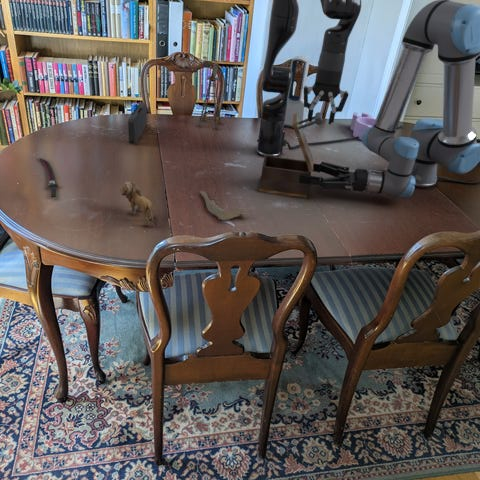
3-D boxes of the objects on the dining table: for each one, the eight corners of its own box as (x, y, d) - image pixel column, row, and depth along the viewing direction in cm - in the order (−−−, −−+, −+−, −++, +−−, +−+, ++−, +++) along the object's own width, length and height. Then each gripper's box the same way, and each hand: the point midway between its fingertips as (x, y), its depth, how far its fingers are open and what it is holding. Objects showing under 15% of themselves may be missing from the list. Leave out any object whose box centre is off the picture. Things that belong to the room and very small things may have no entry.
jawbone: (230, 228, 136) (231, 222, 135) (181, 203, 146) (181, 197, 145) (250, 215, 142) (250, 210, 140) (201, 192, 152) (201, 187, 151)
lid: (292, 124, 144) (319, 114, 141) (293, 114, 152) (319, 104, 149) (309, 172, 151) (336, 163, 149) (309, 160, 160) (334, 151, 157)
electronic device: (305, 125, 218) (316, 58, 202) (301, 130, 212) (313, 61, 196) (279, 120, 221) (289, 53, 205) (275, 124, 215) (284, 56, 199)
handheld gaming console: (140, 124, 200) (139, 101, 194) (146, 125, 200) (146, 101, 194) (127, 143, 180) (126, 118, 175) (135, 144, 180) (134, 119, 175)
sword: (61, 197, 141) (61, 193, 140) (50, 198, 139) (50, 194, 139) (49, 160, 164) (48, 156, 163) (39, 160, 163) (39, 157, 162)
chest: (259, 191, 157) (262, 166, 152) (261, 178, 166) (264, 155, 161) (306, 198, 156) (311, 173, 151) (306, 185, 165) (311, 161, 160)
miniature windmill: (216, 129, 203) (221, 57, 187) (197, 126, 204) (200, 54, 188) (221, 123, 211) (226, 53, 194) (203, 120, 212) (206, 50, 195)
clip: (343, 126, 223) (346, 112, 219) (367, 127, 225) (371, 113, 221) (360, 142, 206) (364, 127, 202) (386, 142, 209) (390, 127, 205)
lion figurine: (118, 210, 138) (116, 182, 133) (132, 204, 141) (131, 177, 137) (151, 229, 130) (150, 201, 126) (165, 223, 134) (165, 195, 129)
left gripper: (306, 66, 135) (297, 123, 144) (355, 72, 135) (343, 129, 144) (306, 61, 142) (297, 115, 151) (353, 67, 141) (341, 121, 150)
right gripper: (366, 206, 148) (297, 197, 149) (360, 176, 167) (298, 168, 168) (372, 185, 144) (301, 175, 145) (365, 157, 163) (301, 149, 164)
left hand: (320, 122), depth 147 cm, fingers open, 5 cm apart
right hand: (299, 171), depth 157 cm, fingers closed on chest, 10 cm apart
